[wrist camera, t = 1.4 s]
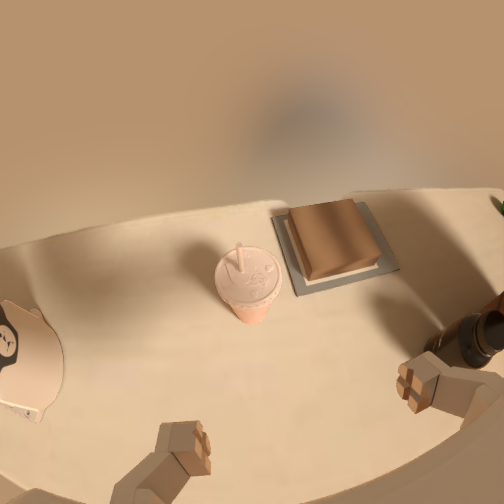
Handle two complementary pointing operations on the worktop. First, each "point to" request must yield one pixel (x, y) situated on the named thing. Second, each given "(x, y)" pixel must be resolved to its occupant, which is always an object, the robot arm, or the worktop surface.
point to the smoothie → (248, 281)
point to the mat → (305, 286)
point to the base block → (332, 238)
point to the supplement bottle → (469, 340)
